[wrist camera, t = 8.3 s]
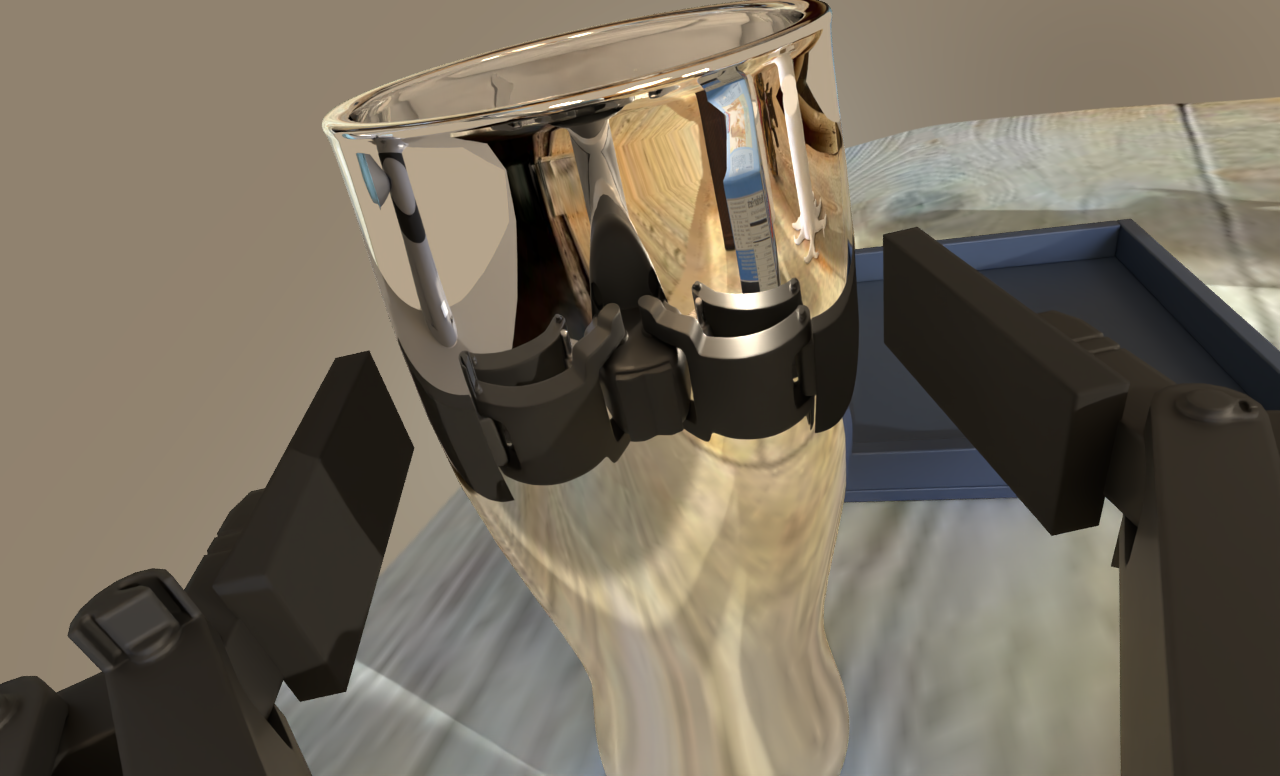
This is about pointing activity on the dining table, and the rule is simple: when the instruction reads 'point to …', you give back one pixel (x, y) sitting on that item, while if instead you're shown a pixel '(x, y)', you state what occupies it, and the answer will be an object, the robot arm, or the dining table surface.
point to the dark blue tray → (1041, 280)
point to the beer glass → (641, 354)
